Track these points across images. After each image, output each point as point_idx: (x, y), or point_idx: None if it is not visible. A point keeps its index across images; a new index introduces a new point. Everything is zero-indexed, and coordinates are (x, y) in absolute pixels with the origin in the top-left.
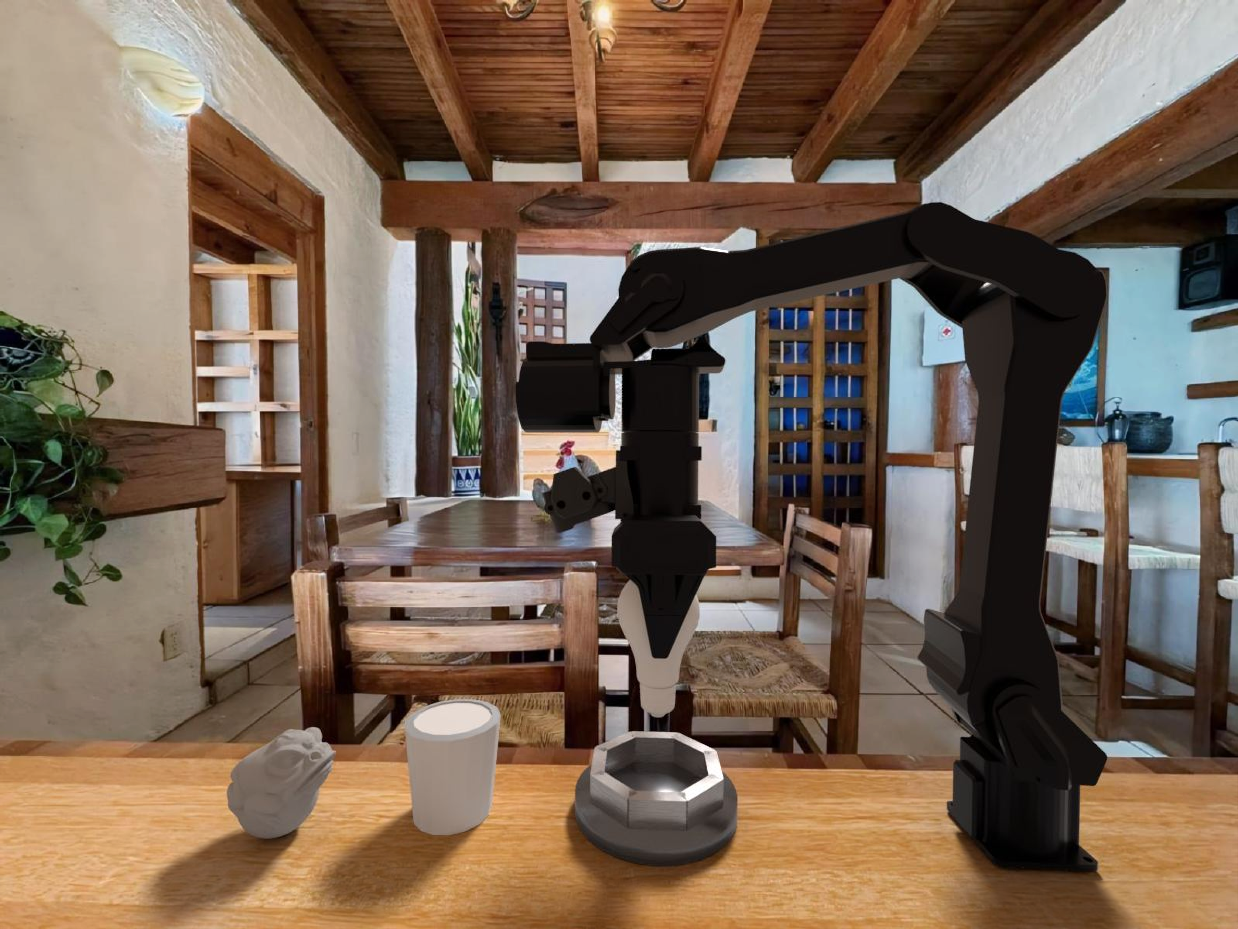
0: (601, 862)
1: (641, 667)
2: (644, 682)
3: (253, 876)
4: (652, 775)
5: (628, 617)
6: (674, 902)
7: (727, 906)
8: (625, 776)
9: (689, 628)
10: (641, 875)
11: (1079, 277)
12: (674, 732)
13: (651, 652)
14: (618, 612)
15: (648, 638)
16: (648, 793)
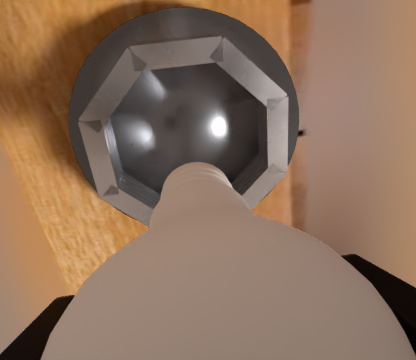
0: (65, 72)
1: (155, 218)
2: (157, 204)
3: None
4: (220, 127)
5: (62, 322)
6: (33, 161)
7: (47, 207)
8: (213, 87)
9: None
10: (60, 123)
11: None
12: (287, 167)
13: (46, 308)
14: (151, 264)
15: (7, 347)
16: (101, 148)
